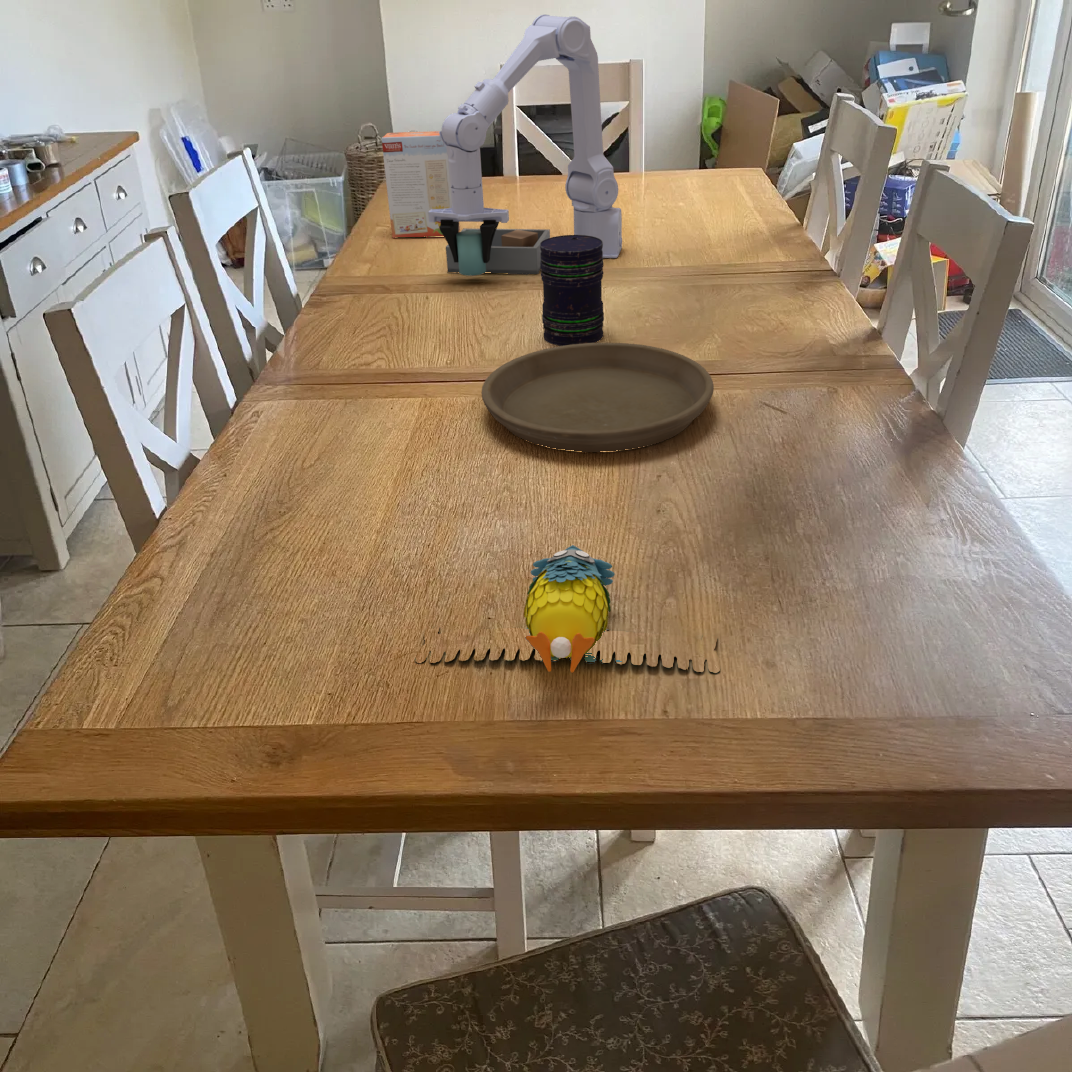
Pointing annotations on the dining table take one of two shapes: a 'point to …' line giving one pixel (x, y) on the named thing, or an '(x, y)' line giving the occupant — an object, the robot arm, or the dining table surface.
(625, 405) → the plant saucer
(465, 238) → the teal cylinder
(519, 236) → the walnut block
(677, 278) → the dining table surface
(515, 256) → the tote
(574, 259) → the storage jar
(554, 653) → the owl figurine
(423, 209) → the cracker box
